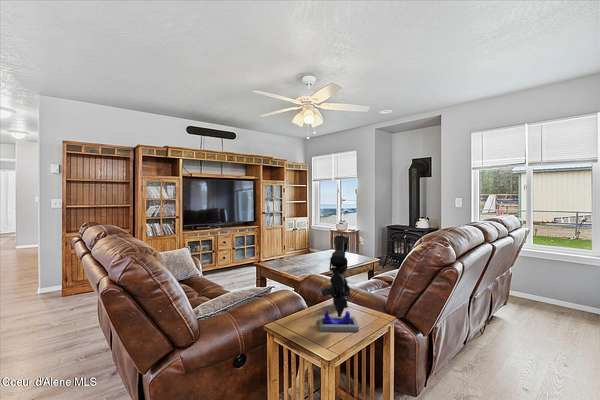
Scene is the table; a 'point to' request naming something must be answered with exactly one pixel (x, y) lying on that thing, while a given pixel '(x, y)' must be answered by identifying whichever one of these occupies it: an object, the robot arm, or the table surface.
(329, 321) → the blue curved bracket
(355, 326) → the gray rectangular open frame
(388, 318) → the table surface
